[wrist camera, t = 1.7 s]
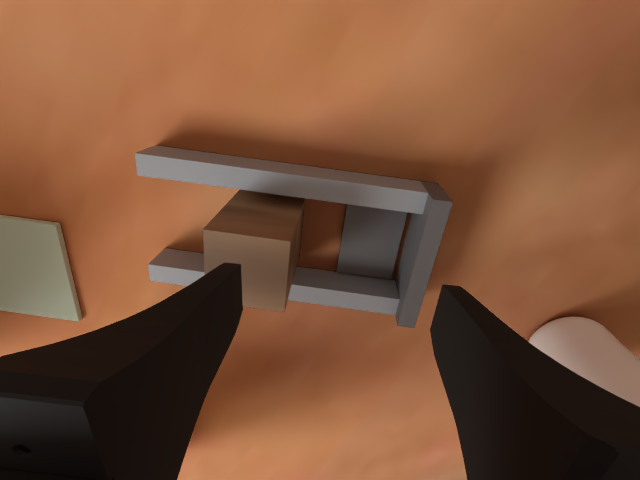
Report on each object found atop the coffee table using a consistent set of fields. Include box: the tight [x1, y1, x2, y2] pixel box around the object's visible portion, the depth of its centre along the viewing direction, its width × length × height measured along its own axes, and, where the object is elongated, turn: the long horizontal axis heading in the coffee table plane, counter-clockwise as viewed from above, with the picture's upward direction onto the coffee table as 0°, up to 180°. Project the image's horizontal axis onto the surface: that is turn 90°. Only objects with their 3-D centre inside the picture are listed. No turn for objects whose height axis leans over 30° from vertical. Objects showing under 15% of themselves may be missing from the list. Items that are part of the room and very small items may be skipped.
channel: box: [135, 145, 453, 328], centre depth 20 cm, size 8×16×3 cm, turn 83°
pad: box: [0, 215, 82, 322], centre depth 24 cm, size 8×8×1 cm
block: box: [203, 190, 305, 312], centre depth 19 cm, size 4×4×6 cm
